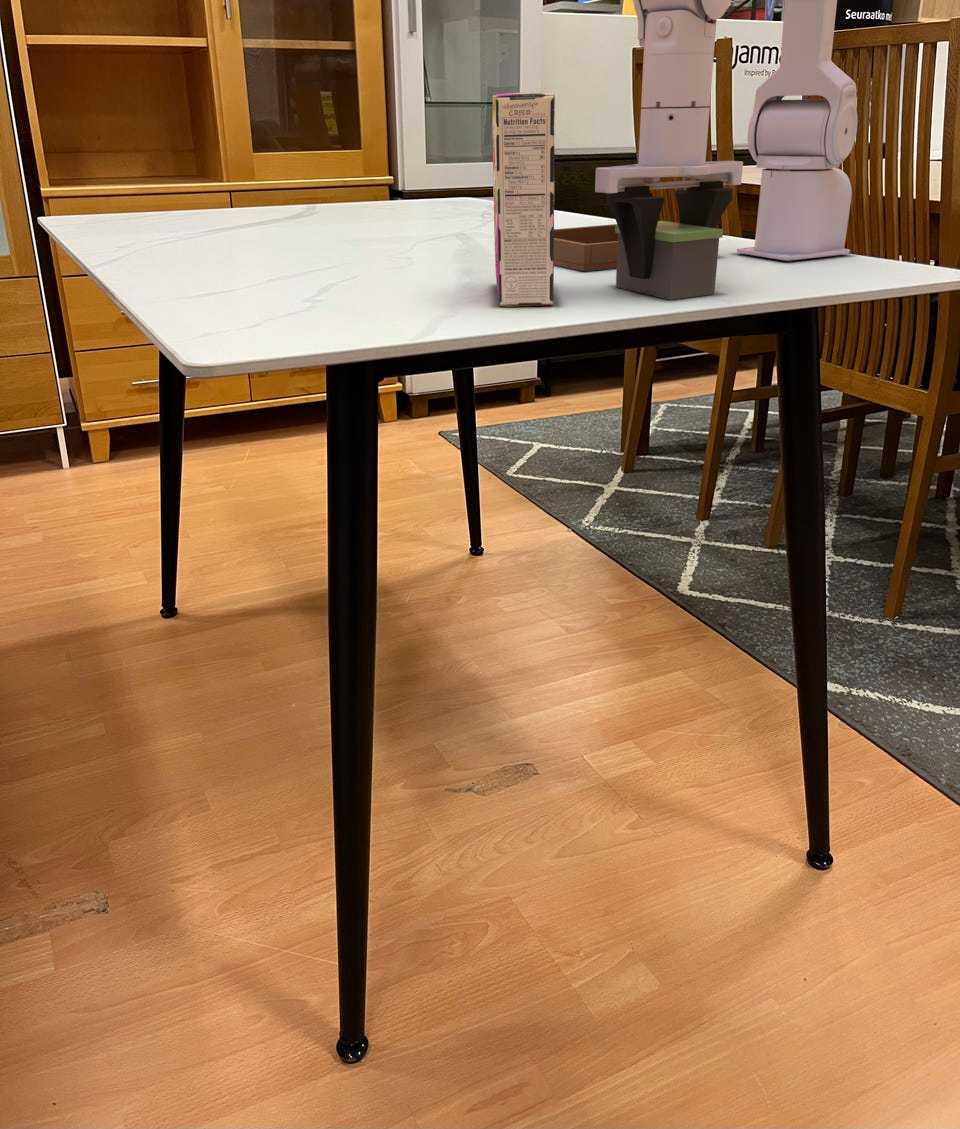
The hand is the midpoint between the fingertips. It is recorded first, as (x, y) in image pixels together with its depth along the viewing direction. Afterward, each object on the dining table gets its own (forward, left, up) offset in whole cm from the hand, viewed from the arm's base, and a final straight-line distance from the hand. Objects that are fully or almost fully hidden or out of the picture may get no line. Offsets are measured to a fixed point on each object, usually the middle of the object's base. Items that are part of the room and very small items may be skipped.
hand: (664, 274), depth 87 cm
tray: (-9, -20, -1) cm, 22 cm away
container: (0, 0, -1) cm, 1 cm away
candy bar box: (+12, -5, -2) cm, 13 cm away
